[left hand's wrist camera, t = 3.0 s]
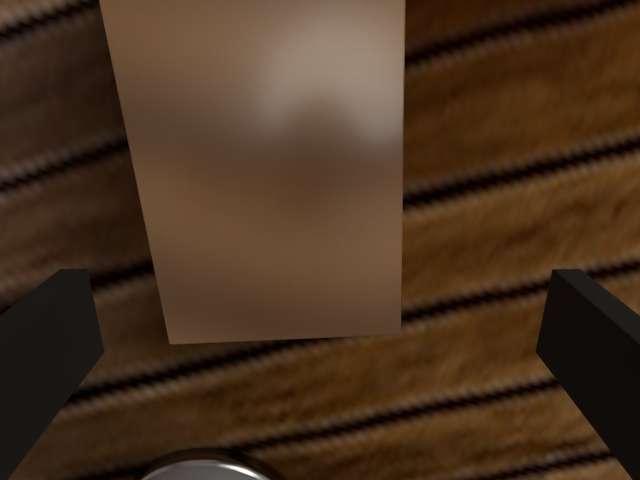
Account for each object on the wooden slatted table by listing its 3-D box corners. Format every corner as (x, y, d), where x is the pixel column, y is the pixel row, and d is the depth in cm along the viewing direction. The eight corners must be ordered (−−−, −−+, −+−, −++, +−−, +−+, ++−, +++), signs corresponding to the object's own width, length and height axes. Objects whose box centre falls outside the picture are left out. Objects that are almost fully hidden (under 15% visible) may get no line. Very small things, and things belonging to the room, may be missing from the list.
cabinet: (179, -57, 24) (66, -157, 13) (368, -68, 24) (408, -180, 13) (222, 246, 31) (169, 344, 20) (372, 239, 30) (401, 334, 20)
